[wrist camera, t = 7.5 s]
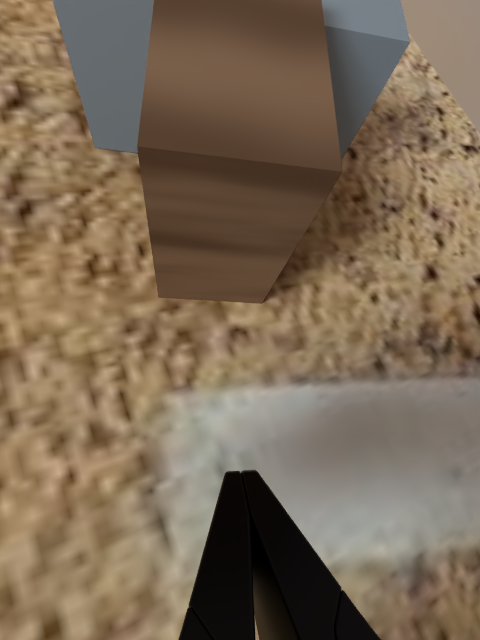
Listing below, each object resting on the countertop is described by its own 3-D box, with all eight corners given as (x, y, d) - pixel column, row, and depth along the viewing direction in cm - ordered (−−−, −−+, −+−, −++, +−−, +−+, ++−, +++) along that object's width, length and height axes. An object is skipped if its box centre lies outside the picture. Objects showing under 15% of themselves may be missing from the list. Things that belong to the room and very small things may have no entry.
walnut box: (261, 303, 21) (342, 171, 10) (158, 297, 20) (136, 145, 10) (257, 168, 24) (317, -34, 14) (169, 157, 23) (161, -69, 13)
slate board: (331, 176, 25) (410, 41, 16) (94, 147, 22) (44, -29, 14) (327, 143, 26) (400, 0, 17) (100, 112, 23) (56, -73, 15)
